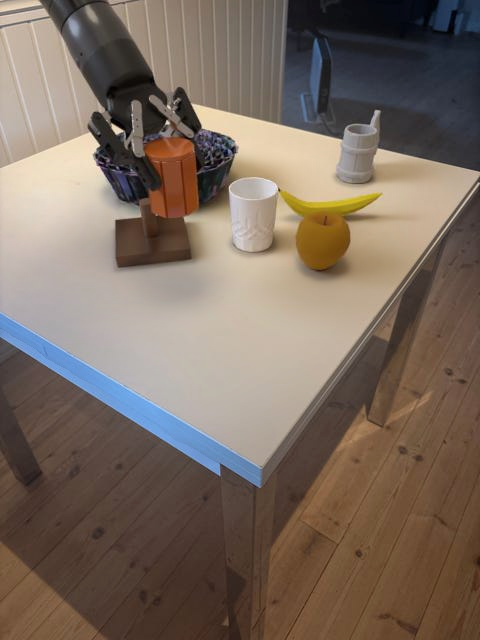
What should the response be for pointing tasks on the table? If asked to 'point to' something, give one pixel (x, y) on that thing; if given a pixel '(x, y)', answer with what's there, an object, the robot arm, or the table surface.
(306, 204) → the banana
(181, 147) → the orange cup
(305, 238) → the apple
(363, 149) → the mug
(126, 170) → the decorative bowl
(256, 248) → the white cup
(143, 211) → the cup stand
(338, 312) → the table surface
